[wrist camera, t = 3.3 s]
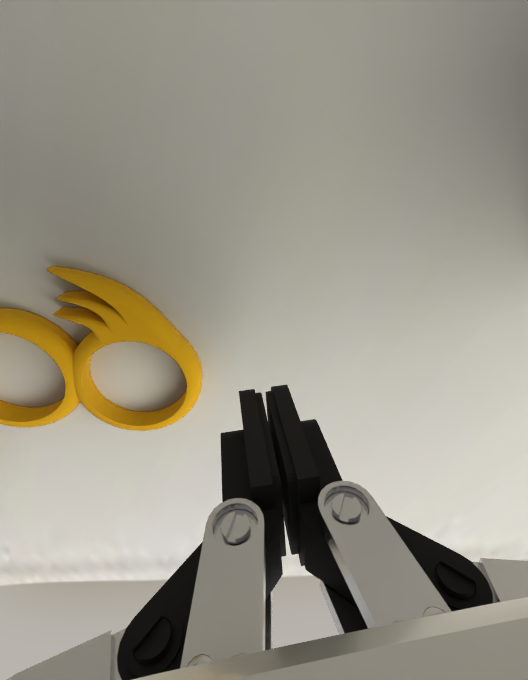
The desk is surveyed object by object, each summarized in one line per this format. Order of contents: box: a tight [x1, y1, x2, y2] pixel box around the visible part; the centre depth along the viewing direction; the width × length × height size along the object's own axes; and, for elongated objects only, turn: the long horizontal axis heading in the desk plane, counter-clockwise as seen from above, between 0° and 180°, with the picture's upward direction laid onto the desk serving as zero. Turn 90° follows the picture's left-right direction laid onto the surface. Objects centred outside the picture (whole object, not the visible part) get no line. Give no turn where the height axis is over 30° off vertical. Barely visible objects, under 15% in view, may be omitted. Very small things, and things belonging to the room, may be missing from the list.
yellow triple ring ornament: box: [0, 266, 202, 431], centre depth 15 cm, size 17×2×10 cm
